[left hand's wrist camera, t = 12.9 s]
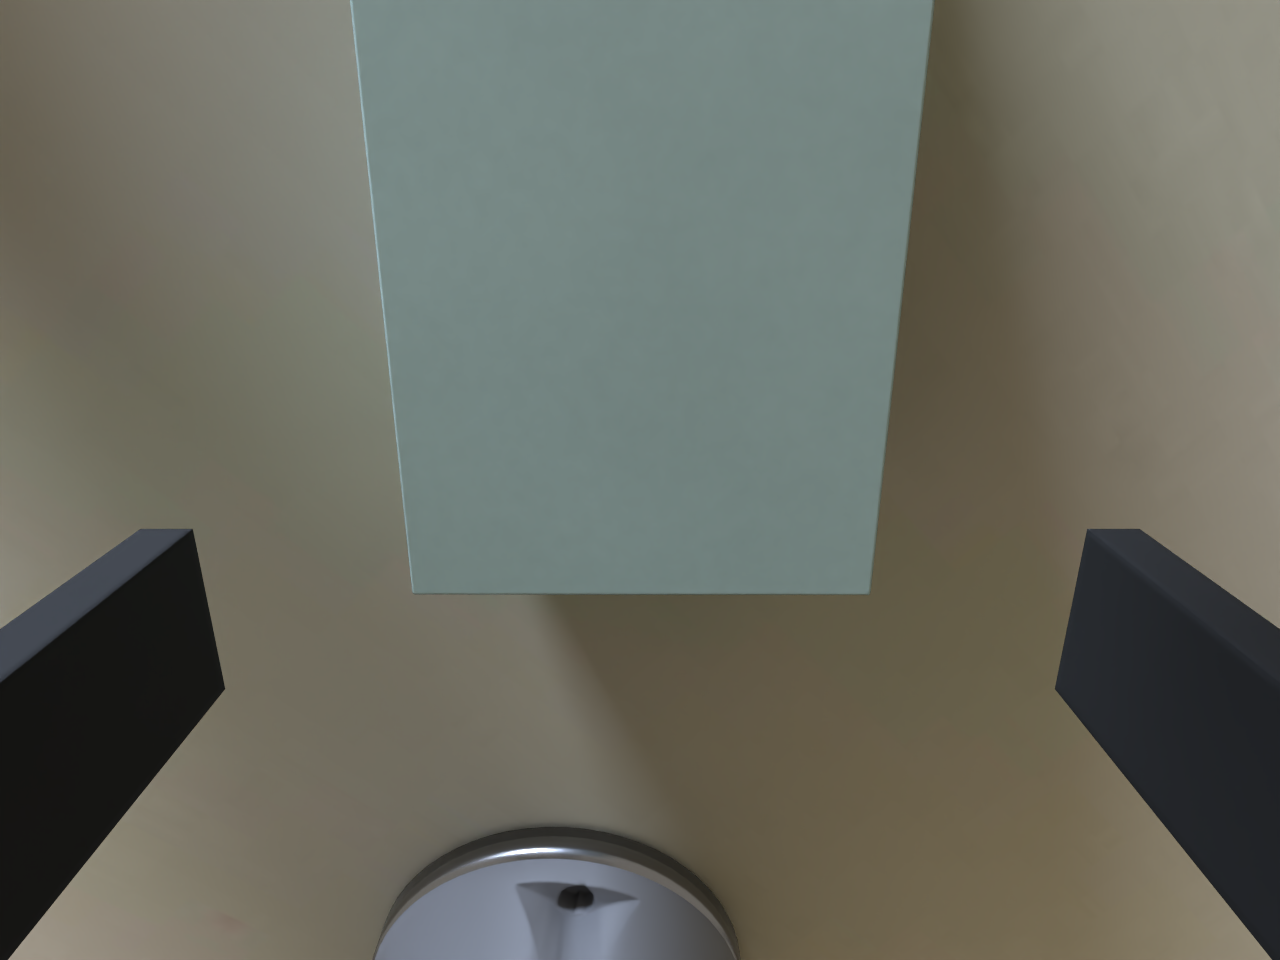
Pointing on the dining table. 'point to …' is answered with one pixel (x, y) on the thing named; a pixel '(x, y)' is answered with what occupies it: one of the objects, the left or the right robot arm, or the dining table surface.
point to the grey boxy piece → (642, 285)
